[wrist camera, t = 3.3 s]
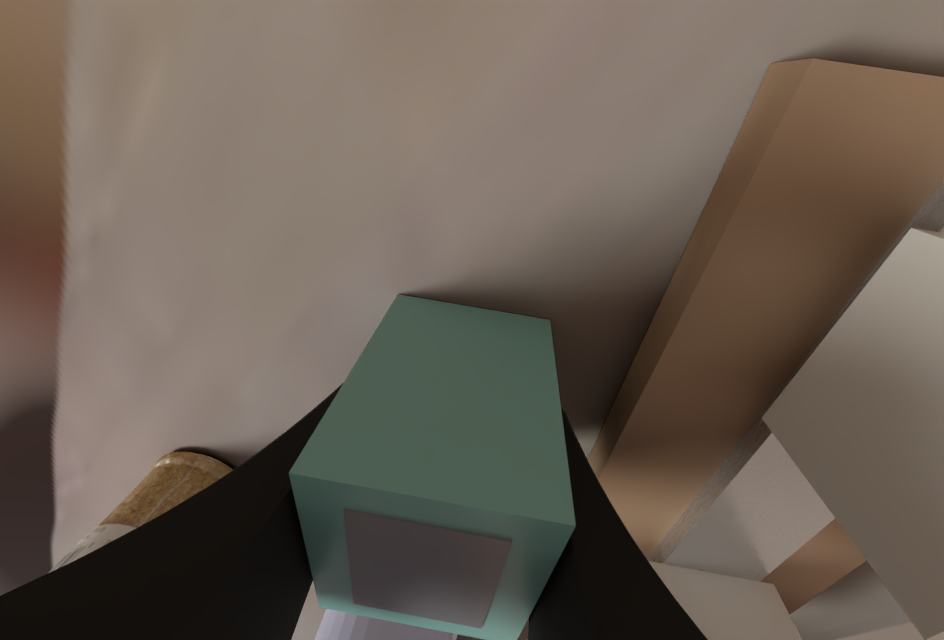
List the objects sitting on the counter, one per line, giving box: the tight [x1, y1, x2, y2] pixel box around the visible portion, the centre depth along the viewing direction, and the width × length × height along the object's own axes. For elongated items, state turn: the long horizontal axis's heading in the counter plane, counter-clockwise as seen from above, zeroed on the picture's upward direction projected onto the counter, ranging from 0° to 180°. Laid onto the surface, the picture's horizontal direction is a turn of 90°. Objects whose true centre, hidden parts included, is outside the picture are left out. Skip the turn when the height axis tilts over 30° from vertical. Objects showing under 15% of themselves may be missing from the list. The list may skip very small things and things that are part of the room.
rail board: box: [588, 58, 944, 614], centre depth 12 cm, size 22×10×1 cm, turn 173°
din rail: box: [647, 179, 944, 582], centre depth 12 cm, size 21×4×1 cm, turn 173°
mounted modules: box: [649, 228, 944, 640], centre depth 9 cm, size 18×4×4 cm, turn 173°
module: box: [289, 294, 576, 640], centre depth 10 cm, size 5×4×6 cm
